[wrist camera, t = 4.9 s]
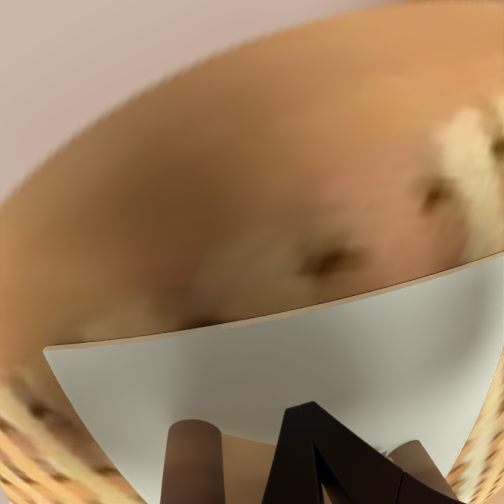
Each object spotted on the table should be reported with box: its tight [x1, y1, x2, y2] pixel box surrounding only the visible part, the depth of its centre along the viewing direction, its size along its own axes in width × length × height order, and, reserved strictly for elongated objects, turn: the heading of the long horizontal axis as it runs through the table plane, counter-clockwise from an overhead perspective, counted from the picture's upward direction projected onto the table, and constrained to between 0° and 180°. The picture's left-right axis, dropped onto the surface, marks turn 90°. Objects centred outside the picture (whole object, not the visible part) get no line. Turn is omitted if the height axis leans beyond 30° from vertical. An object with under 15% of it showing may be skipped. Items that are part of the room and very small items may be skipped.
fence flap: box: [160, 419, 394, 504], centre depth 7 cm, size 9×2×3 cm, turn 63°
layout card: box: [42, 251, 504, 504], centre depth 11 cm, size 20×17×1 cm
